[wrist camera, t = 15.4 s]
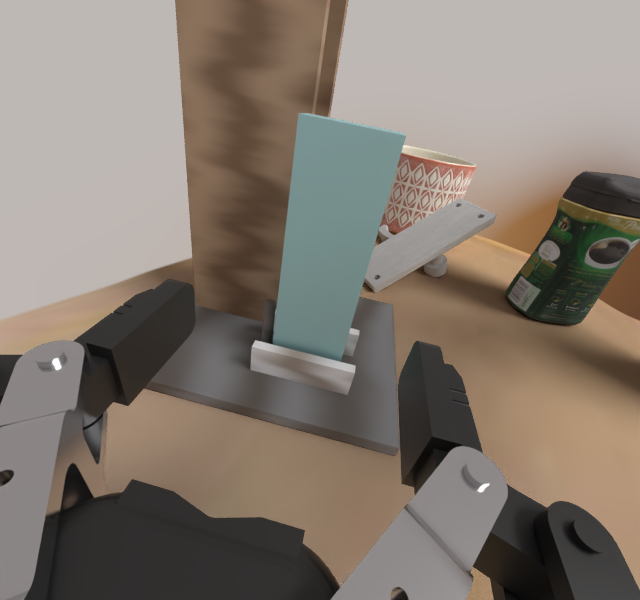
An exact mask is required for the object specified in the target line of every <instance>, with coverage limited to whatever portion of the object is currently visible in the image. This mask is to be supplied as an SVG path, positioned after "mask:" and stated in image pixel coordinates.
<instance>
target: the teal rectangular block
mask: <svg viewBox="0 0 640 600" xmlns="http://www.w3.org/2000/svg"><path fill="white" fill-rule="evenodd" d="M405 138H406V135H405V134H404V133H401V132H396V131H392V130H387V129H382V128H377V127H372V126H367V125H363V124H358V123H353V122H348V121H344V120H339V119H334V118H329V117H324V116H320V115H315V114H310V113H299V114H298V123H297V132H296V141H295V150H294V159H293V167H292V176H291V185H290V194H289V203H288V212H287V221H286V230H285V239H284V247H283V256H282V265H281V274H280V283H279V292H278V301H277V310H276V319H275V327H274V336H273V345H277V346H280V347H284V348H288V349H292V350H296V351H300V352H304V353H308V354H312V355H316V356H320V357H323V358H327V359H331V360H335V361H339V362H341V359H342V355H343V352H344V348H345V345H346V342H347V338H348V335H349V331H350V328H351V324H352V321H353V317H354V314H355V310H356V307H357V304H358V300H359V297H360V293H361V290H362V286H363V283H364V279H365V276H366V272H367V269H368V266H369V262H370V259H371V255H372V252H373V248H374V245H375V241H376V238H377V234H378V231H379V228H380V224H381V221H382V217H383V214H384V210H385V207H386V203H387V200H388V196H389V193H390V190H391V186H392V183H393V179H394V176H395V172H396V169H397V165H398V162H399V158H400V155H401V152H402V148H403V145H404V141H405Z"/></svg>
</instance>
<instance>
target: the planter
mask: <svg viewBox="0 0 640 600" xmlns="http://www.w3.org/2000/svg"><path fill="white" fill-rule="evenodd" d="M476 167H477V165H476V164H475V163H473V162H470V161H468V160H465V159H461V158H458V157H455V156H451V155H447V154H443V153H439V152H436V151H431V150H427V149H422V148H418V147H412V146H407V145H403V148H402V152H401V155H400V158H399V162H398V165H397V169H396V172H395V176H394V179H393V183H392V186H391V190H390V193H389V196H388V200H387V203H386V207H385V210H384V214H383V217H382V221H381V224H380V227H381V226H382V225H387V226H388V230H389V232H390V233H391V234H393V235H396V234H398V233H399V232H401V231H403V230H405V229H406V228H408V227H410V226H412V225H413V224H415V223H417V222H418V221H420V220H422V219H424V218H425V217H427V216H429V215H431V214H432V213H434V212H436V211H438V210H439V209H441V208H443V207H444V206H446V205H448V204H450V203H451V202H453V201H455V200H457V199H458V198H461V199H463V197H464V195H465V193H466V190H467V188H468V185H469V183H470V181H471V178H472V176H473V174H474V171H475V169H476Z"/></svg>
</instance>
